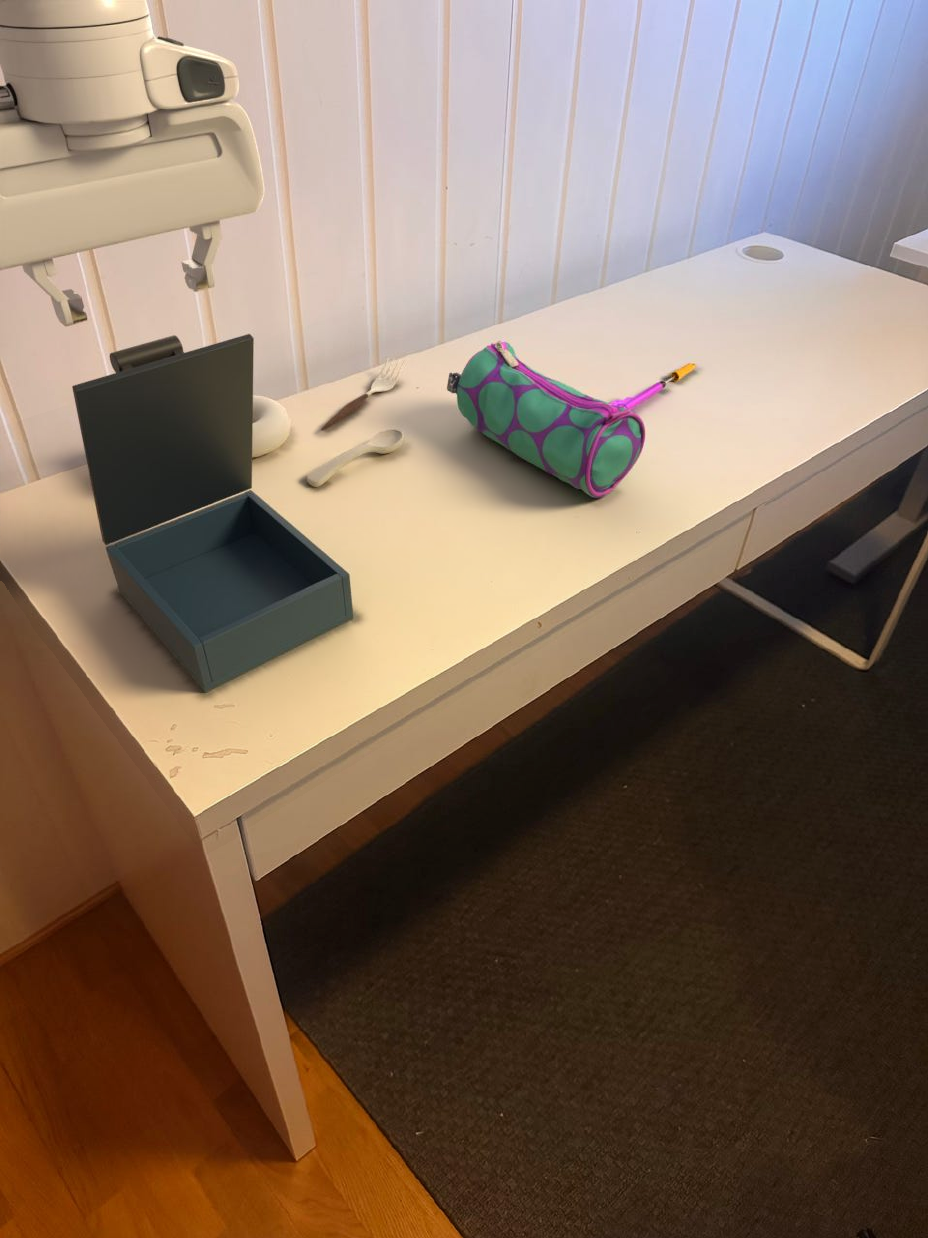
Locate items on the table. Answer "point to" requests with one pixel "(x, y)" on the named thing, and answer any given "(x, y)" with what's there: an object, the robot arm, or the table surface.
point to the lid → (167, 431)
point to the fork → (367, 394)
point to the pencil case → (548, 421)
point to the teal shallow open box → (231, 587)
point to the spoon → (378, 443)
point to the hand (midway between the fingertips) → (139, 303)
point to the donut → (268, 425)
